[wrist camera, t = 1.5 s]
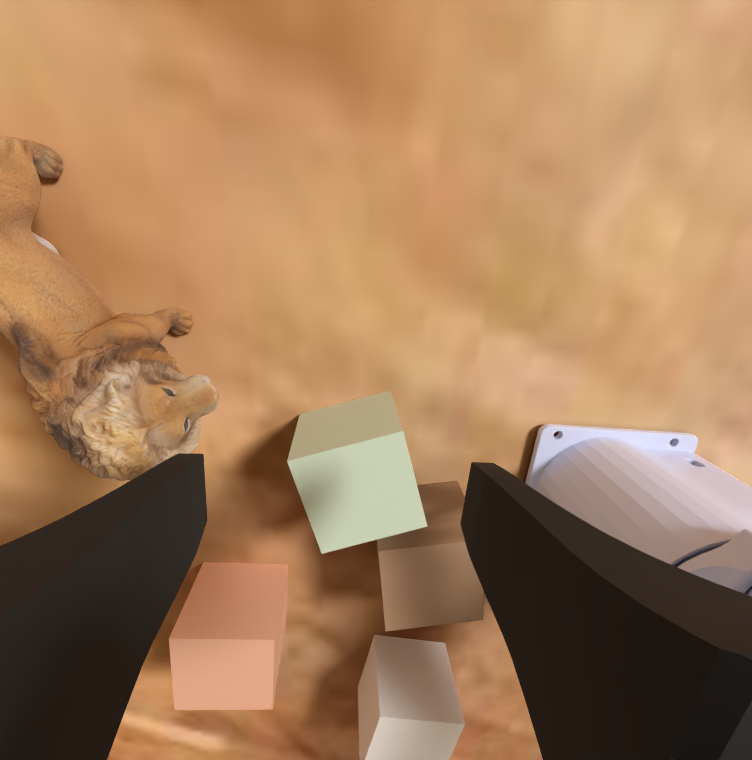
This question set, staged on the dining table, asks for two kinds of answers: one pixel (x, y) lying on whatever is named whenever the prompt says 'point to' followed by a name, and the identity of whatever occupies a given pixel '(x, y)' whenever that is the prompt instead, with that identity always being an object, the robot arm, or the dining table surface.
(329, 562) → the dining table surface
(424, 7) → the dining table surface
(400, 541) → the walnut block
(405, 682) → the pale grey block
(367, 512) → the sage block
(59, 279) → the lion figurine
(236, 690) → the terracotta block
